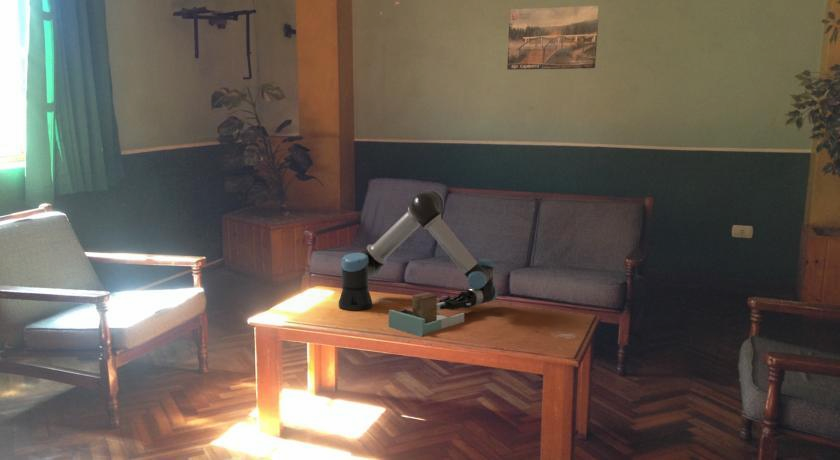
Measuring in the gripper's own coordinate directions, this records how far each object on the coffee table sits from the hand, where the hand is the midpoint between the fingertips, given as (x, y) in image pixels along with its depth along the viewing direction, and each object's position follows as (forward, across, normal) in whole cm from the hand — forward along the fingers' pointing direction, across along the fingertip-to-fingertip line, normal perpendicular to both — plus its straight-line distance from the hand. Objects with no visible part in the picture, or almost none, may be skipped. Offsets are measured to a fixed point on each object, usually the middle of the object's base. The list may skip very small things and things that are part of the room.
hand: (433, 308), depth 295 cm
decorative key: (-16, +18, -7) cm, 25 cm away
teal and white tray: (+3, +1, -7) cm, 7 cm away
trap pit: (+4, +14, -7) cm, 16 cm away
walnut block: (+4, +1, -6) cm, 7 cm away
